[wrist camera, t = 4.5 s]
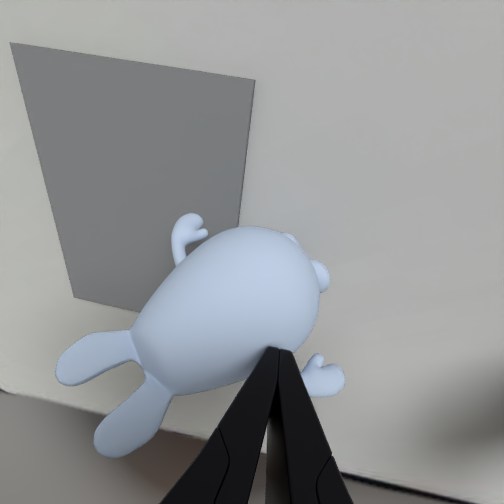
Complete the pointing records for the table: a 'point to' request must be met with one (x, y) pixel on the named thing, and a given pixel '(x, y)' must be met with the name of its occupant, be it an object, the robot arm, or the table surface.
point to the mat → (132, 162)
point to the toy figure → (207, 327)
